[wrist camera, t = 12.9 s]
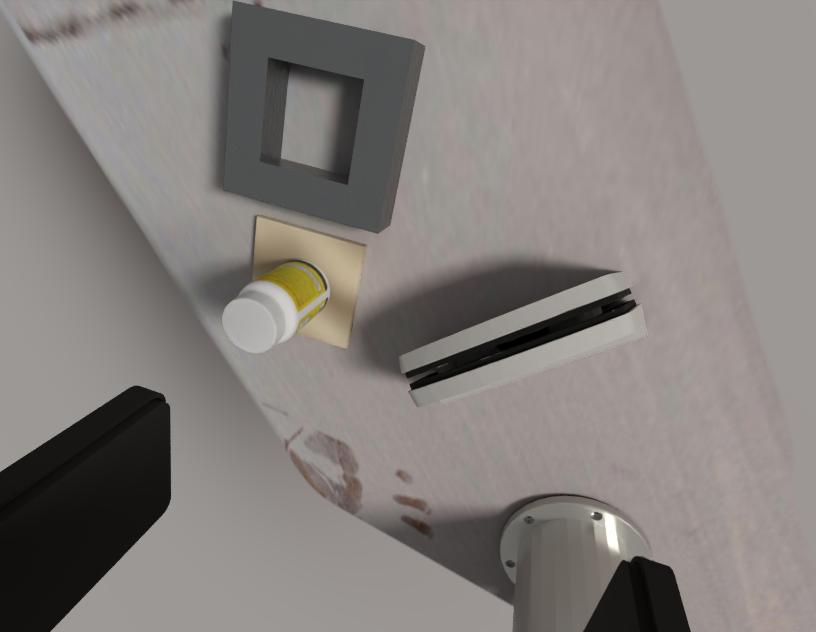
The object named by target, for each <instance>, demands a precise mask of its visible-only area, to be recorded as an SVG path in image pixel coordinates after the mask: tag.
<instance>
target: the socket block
mask: <svg viewBox="0 0 816 632" xmlns="http://www.w3.org/2000/svg"><path fill="white" fill-rule="evenodd" d="M424 51H425V46H424V45H422V44H420V43H419V42H417V41H415V40H412V39H408V38H403V37H398V36H394V35H389V34H385V33H380V32H375V31H371V30H366V29H361V28H357V27H352V26H348V25H343V24H338V23H334V22H329V21H325V20H320V19H315V18H311V17H306V16H301V15H297V14H292V13H288V12H283V11H278V10H274V9H269V8H265V7H260V6H255V5H251V4H246V3H241V2H237V1H233V8H232V28H231V48H230V68H229V87H228V107H227V127H226V147H225V167H224V187H223V190H224V191H227V192H231V193H234V194H238V195H242V196H245V197H249V198H252V199H256V200H259V201H263V202H267V203H270V204H274V205H277V206H281V207H284V208H288V209H292V210H295V211H299V212H302V213H306V214H309V215H313V216H317V217H320V218H324V219H327V220H331V221H334V222H338V223H342V224H345V225H349V226H352V227H356V228H359V229H363V230H367V231H370V232H374V233H377V234H378V233H380V232H381V231H382V230H384V229H385V228H387V227H388V226H390V223H391V218H392V213H393V208H394V203H395V198H396V193H397V188H398V183H399V177H400V172H401V167H402V162H403V157H404V152H405V147H406V142H407V137H408V132H409V127H410V122H411V117H412V111H413V106H414V101H415V96H416V91H417V86H418V81H419V76H420V71H421V66H422V61H423V56H424ZM290 62H291V63H295V64H299V65H304V66H308V67H312V68H317V69H321V70H325V71H330V72H334V73H338V74H342V75H347V76H351V77H355V78H360V79H364V84H363V90H362V96H361V103H360V109H359V116H358V122H357V129H356V135H355V142H354V148H353V155H352V161H351V167H350V174H349V176H345V175H341V174H338V173H334V172H330V171H326V170H323V169H319V168H315V167H311V166H307V165H304V164H300V163H296V162H292V161H289V160H285V159H281V147H282V137H283V127H284V116H285V106H286V95H287V85H288V74H289V64H290Z"/></svg>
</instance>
